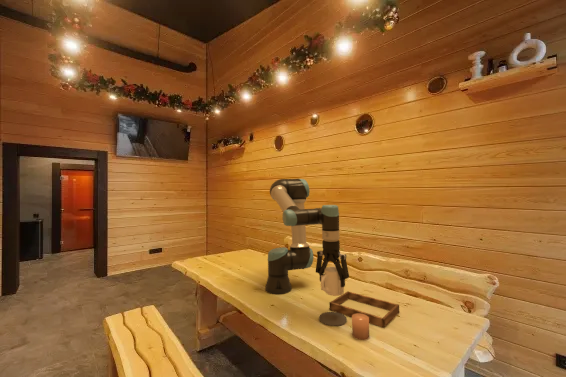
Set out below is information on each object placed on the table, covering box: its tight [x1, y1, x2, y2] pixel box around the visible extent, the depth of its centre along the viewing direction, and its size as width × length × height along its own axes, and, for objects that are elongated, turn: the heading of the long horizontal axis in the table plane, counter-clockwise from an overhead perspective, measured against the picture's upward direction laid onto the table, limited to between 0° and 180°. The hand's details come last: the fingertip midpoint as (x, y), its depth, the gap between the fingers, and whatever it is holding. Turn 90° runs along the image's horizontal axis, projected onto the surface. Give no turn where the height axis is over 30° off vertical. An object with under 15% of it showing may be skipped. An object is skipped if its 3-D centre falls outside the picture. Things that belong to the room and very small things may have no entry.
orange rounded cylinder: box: [351, 313, 370, 341], centre depth 102 cm, size 6×6×7 cm
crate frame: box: [329, 291, 400, 329], centre depth 122 cm, size 26×18×4 cm
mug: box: [320, 266, 345, 297], centre depth 115 cm, size 12×8×10 cm
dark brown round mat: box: [318, 311, 348, 327], centre depth 115 cm, size 12×12×1 cm
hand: (332, 291), depth 115 cm, fingers closed on mug, 8 cm apart
